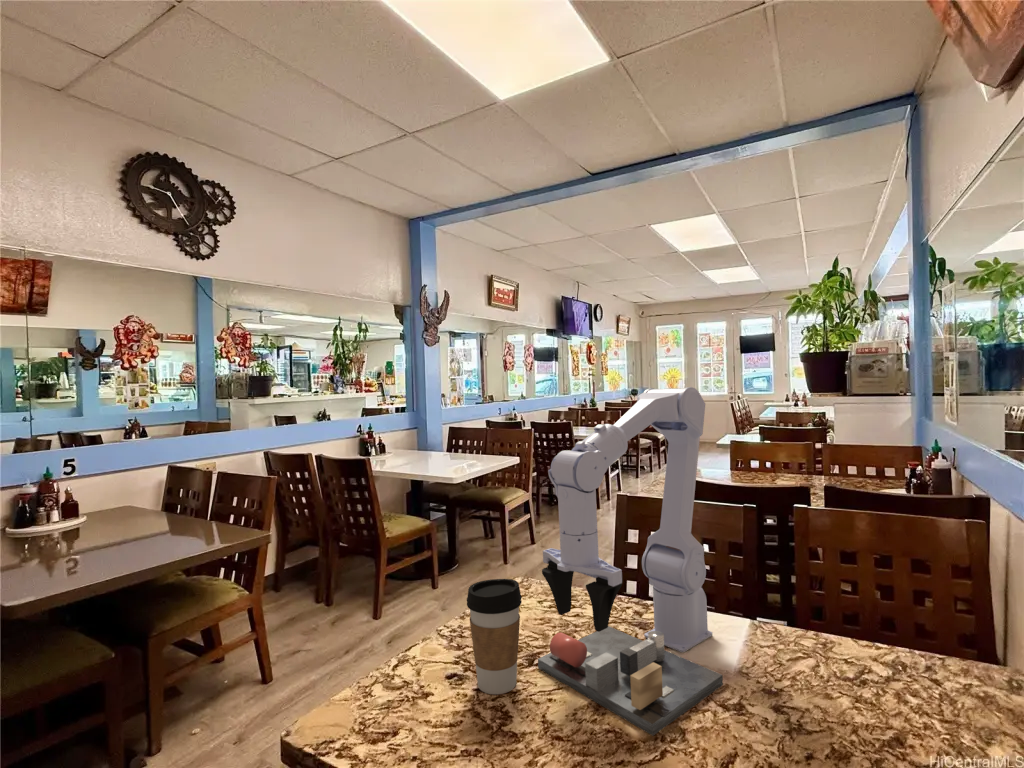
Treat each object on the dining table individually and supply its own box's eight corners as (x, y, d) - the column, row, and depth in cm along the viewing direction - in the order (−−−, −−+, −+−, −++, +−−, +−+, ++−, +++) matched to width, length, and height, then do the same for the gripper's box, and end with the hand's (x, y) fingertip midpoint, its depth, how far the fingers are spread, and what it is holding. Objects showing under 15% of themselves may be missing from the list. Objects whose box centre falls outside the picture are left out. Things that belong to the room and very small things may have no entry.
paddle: (654, 691, 73) (653, 662, 73) (662, 695, 72) (661, 666, 72) (631, 705, 70) (630, 675, 70) (640, 710, 69) (638, 679, 69)
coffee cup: (519, 702, 75) (515, 597, 75) (462, 697, 77) (459, 594, 77) (529, 670, 83) (525, 576, 83) (477, 667, 85) (474, 574, 85)
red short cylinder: (566, 651, 85) (565, 629, 85) (587, 662, 81) (586, 639, 81) (550, 659, 83) (549, 636, 83) (571, 670, 79) (570, 646, 79)
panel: (608, 634, 95) (607, 608, 95) (724, 685, 77) (722, 653, 77) (538, 668, 84) (537, 638, 84) (654, 736, 67) (652, 699, 67)
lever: (655, 651, 84) (654, 629, 84) (667, 657, 82) (667, 634, 82) (619, 671, 78) (618, 648, 78) (631, 678, 76) (631, 654, 76)
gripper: (527, 527, 82) (530, 613, 82) (596, 546, 71) (601, 646, 71) (559, 518, 87) (562, 600, 87) (629, 535, 75) (634, 629, 75)
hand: (582, 620), depth 79 cm, fingers open, 7 cm apart
